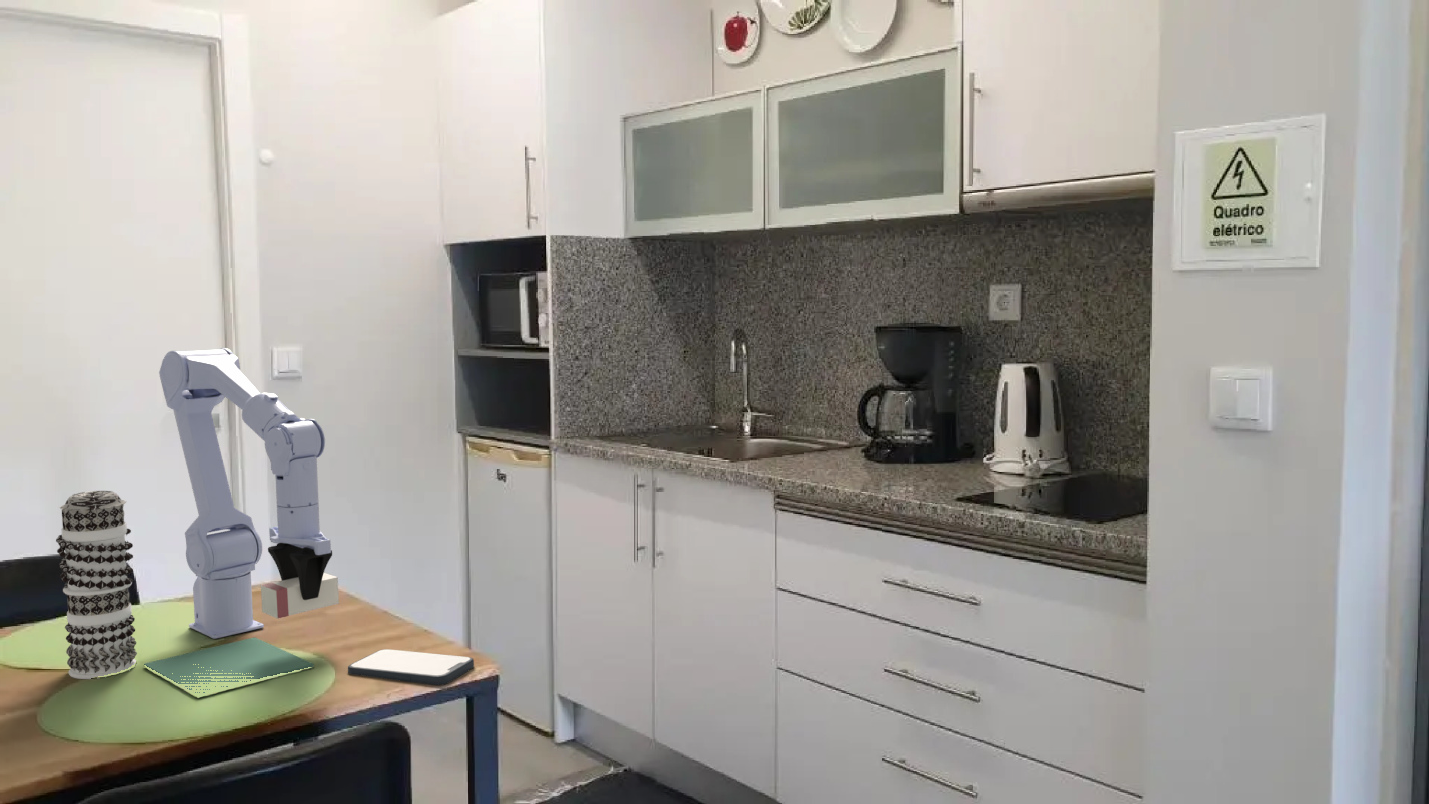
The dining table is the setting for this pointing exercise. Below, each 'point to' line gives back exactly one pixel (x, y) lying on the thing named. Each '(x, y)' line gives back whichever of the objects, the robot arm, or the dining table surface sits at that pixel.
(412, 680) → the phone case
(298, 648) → the dining table surface
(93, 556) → the decorative candle
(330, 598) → the card deck
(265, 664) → the card mat
